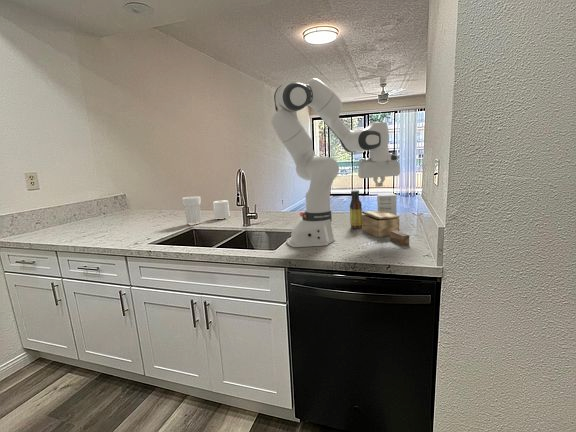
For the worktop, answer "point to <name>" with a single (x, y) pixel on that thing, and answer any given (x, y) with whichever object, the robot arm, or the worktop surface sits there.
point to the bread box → (379, 226)
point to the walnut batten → (400, 238)
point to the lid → (380, 214)
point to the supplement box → (387, 203)
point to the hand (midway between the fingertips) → (379, 186)
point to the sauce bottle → (355, 210)
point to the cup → (192, 208)
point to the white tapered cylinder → (221, 209)
